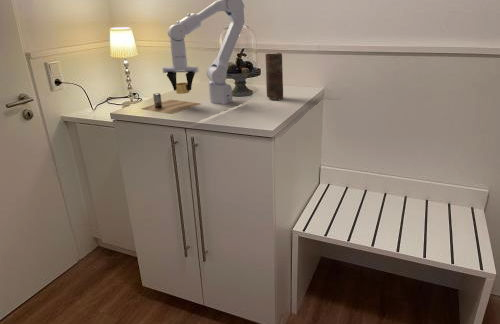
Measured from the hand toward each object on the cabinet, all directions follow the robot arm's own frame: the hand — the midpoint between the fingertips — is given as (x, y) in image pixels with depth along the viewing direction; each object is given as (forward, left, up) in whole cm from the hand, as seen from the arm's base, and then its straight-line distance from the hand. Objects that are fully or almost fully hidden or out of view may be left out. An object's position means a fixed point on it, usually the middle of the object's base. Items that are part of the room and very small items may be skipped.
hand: (182, 90), depth 156 cm
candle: (-27, -30, -8) cm, 41 cm away
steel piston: (+8, +7, -8) cm, 13 cm away
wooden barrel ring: (0, 0, -1) cm, 1 cm away
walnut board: (+4, +4, -8) cm, 9 cm away
